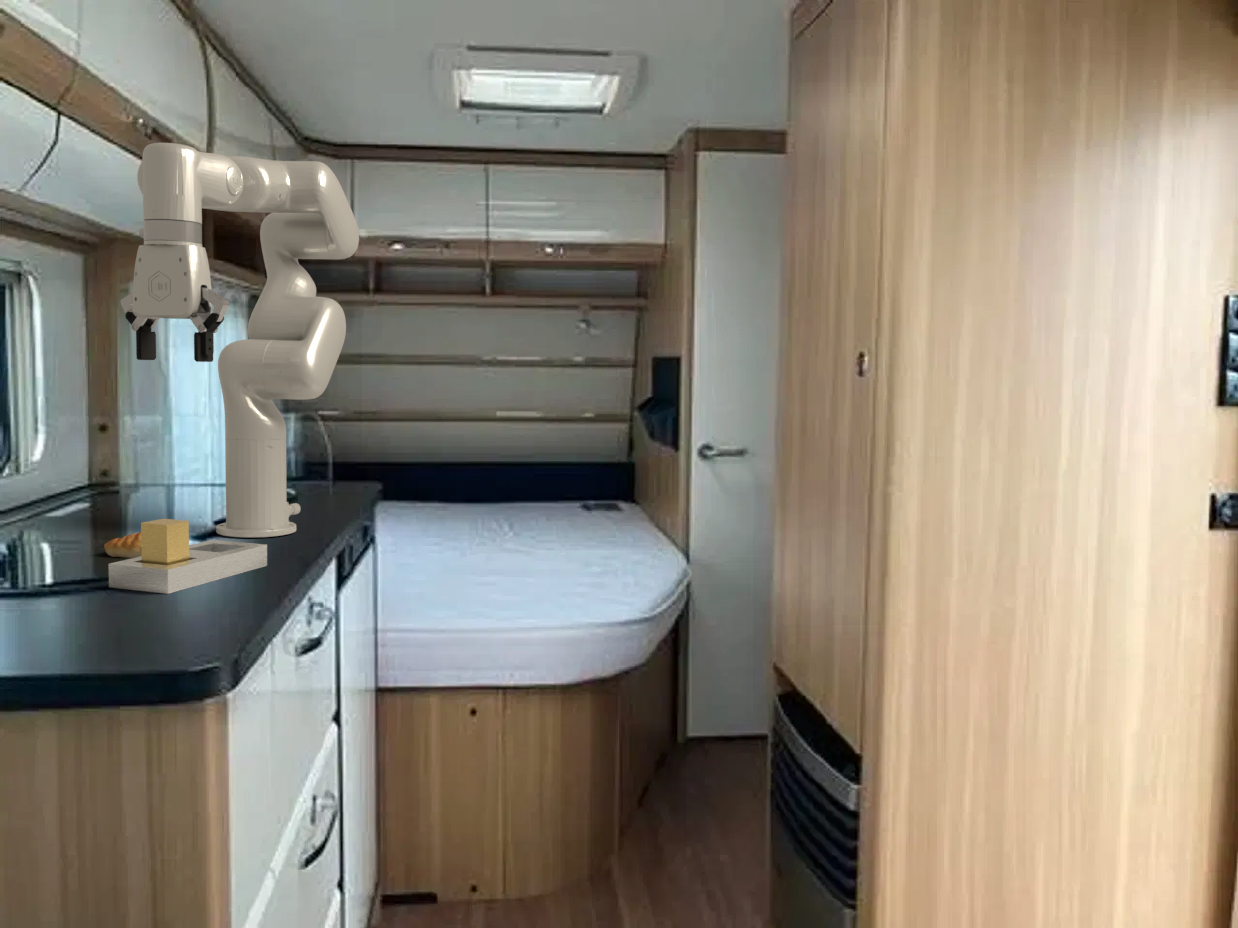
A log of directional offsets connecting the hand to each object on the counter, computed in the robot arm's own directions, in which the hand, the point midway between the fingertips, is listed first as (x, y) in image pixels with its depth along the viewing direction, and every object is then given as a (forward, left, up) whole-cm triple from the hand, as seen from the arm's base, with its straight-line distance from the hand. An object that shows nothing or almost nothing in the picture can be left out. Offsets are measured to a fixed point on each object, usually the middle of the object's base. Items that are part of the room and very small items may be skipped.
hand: (174, 360), depth 155 cm
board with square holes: (+8, +9, -28) cm, 31 cm away
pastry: (-2, -7, -29) cm, 30 cm away
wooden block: (+13, +9, -28) cm, 32 cm away
